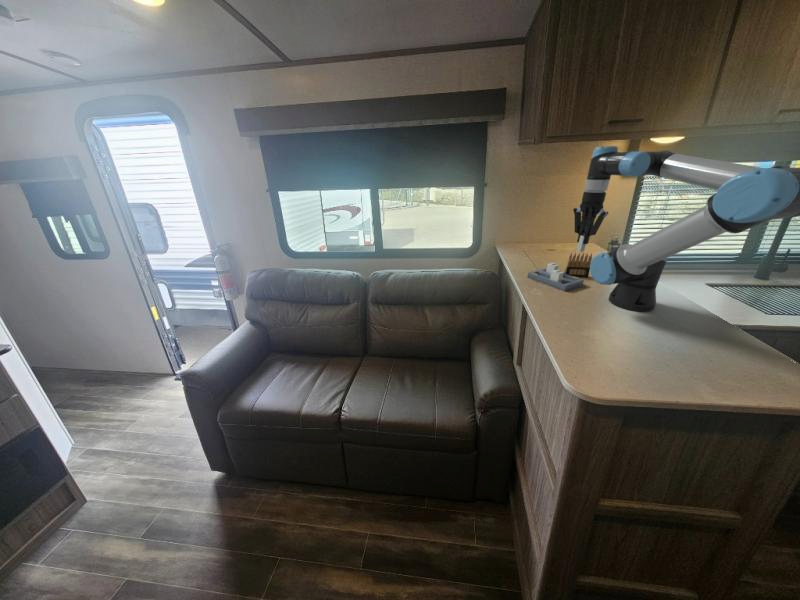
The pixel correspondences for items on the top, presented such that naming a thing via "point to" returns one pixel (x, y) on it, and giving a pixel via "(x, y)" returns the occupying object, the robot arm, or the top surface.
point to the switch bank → (565, 285)
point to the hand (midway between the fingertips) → (580, 251)
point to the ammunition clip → (578, 265)
